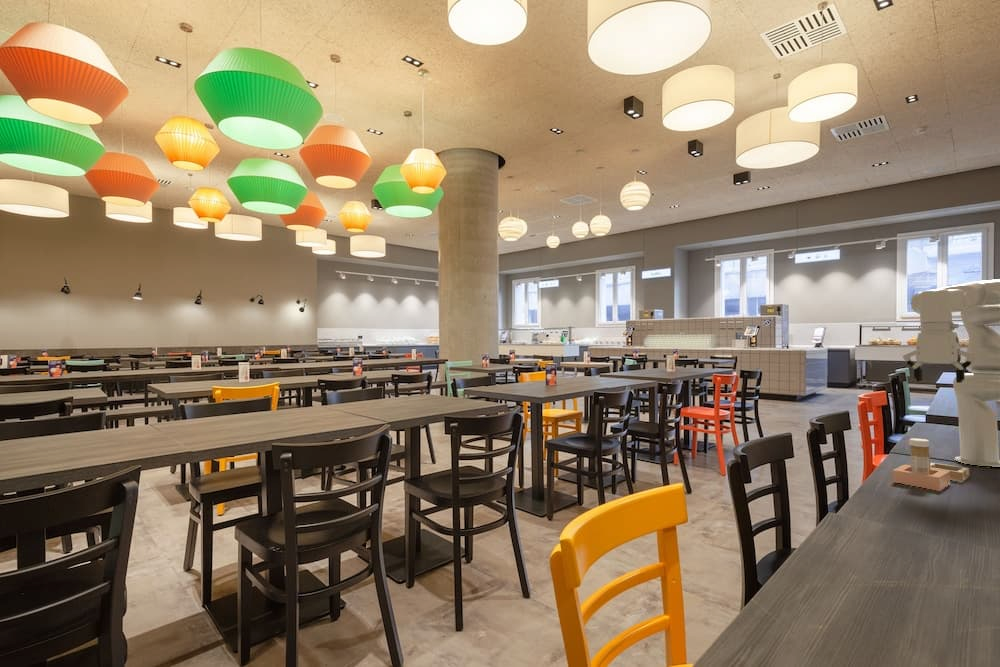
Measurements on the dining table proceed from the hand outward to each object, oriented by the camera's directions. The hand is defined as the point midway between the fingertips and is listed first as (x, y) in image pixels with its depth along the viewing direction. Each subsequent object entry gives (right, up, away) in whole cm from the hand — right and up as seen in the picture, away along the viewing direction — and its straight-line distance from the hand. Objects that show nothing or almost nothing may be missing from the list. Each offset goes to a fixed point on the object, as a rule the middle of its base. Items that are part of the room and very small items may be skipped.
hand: (938, 381), depth 152 cm
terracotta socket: (-12, -30, -7) cm, 33 cm away
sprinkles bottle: (-12, -31, -7) cm, 34 cm away
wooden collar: (+2, -30, -1) cm, 30 cm away
